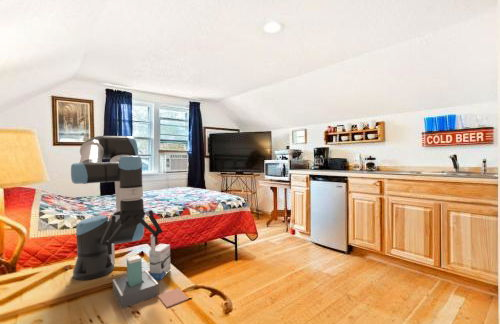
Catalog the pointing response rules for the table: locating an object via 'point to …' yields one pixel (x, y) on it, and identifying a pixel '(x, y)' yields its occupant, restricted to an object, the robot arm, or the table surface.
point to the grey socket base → (135, 290)
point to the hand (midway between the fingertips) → (134, 258)
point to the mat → (172, 297)
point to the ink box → (160, 261)
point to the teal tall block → (134, 270)
